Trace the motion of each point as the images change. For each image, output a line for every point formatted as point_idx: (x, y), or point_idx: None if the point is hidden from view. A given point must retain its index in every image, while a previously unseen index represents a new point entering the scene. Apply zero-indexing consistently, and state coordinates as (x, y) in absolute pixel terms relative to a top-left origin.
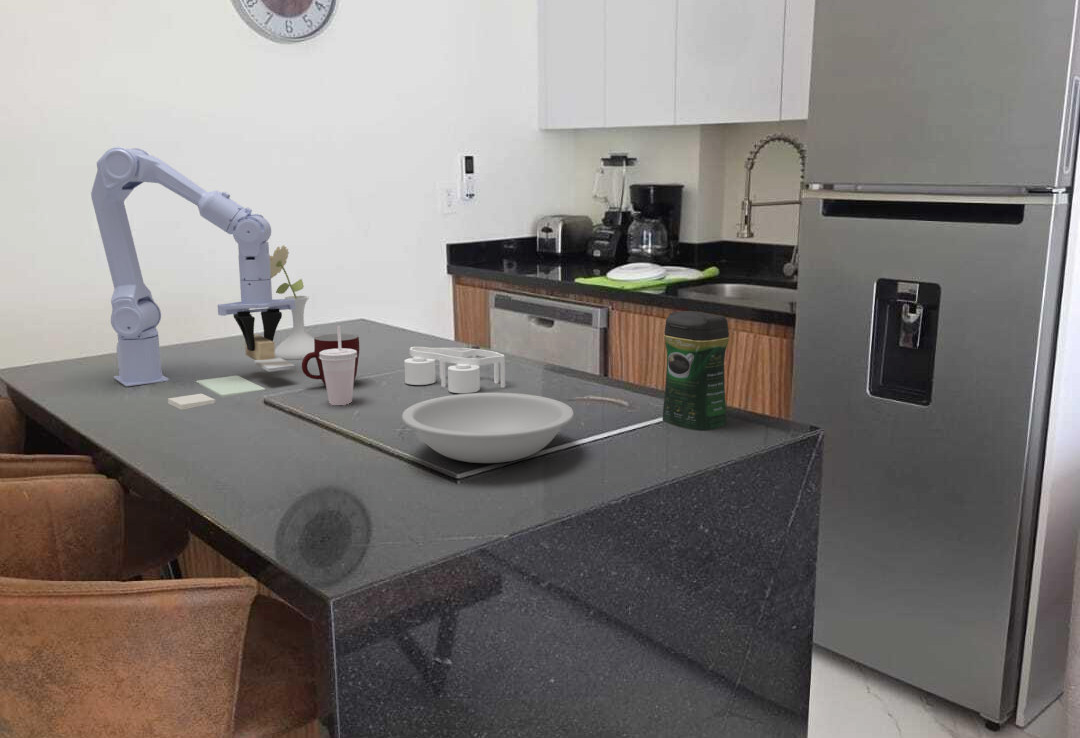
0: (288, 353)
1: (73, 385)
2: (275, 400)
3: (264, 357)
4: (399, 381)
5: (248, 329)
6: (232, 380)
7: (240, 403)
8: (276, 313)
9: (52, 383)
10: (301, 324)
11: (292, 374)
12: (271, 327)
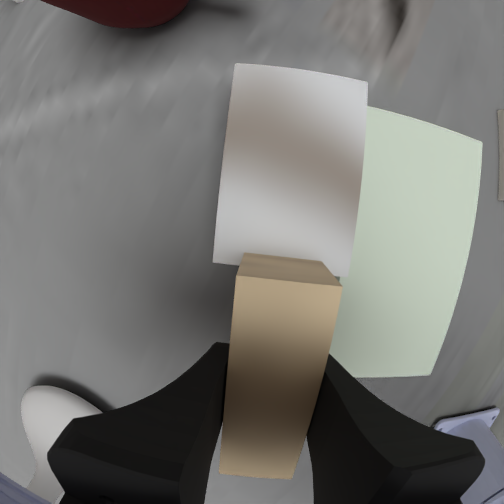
0: None
1: None
2: (370, 14)
3: (301, 261)
4: (14, 37)
5: (391, 415)
6: (372, 317)
7: (454, 65)
8: (104, 462)
9: None
10: (36, 481)
11: (145, 317)
12: (194, 405)
